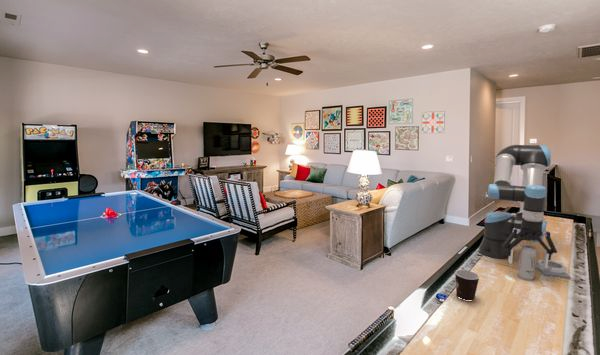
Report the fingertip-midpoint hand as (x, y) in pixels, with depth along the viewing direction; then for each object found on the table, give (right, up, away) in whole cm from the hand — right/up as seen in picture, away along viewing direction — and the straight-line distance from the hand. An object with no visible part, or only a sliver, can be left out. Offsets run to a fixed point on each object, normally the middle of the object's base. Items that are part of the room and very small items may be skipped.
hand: (527, 264), depth 141 cm
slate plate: (+17, -5, +8) cm, 20 cm away
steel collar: (+17, -5, +8) cm, 20 cm away
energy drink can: (0, -7, +1) cm, 7 cm away
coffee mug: (-37, -10, -16) cm, 42 cm away
